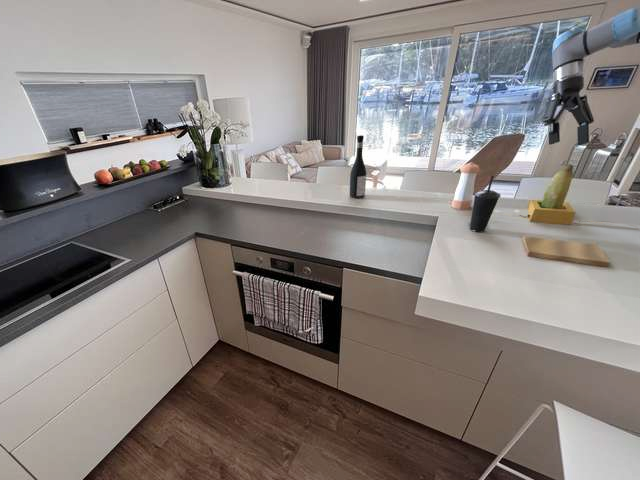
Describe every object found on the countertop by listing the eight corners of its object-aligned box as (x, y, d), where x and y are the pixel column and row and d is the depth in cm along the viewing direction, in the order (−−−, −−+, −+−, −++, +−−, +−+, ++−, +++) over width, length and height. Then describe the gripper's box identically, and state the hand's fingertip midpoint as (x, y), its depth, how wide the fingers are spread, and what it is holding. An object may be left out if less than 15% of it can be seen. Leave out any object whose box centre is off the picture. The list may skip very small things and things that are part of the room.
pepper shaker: (448, 204, 131) (457, 161, 122) (463, 203, 131) (474, 159, 122) (457, 210, 125) (468, 164, 116) (473, 208, 125) (486, 163, 116)
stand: (562, 214, 113) (567, 202, 110) (569, 225, 104) (575, 212, 102) (525, 211, 118) (530, 199, 116) (529, 221, 110) (534, 208, 107)
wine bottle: (367, 195, 152) (372, 134, 137) (359, 199, 148) (363, 137, 133) (354, 193, 158) (357, 134, 143) (346, 197, 153) (348, 136, 138)
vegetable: (560, 221, 108) (584, 166, 98) (539, 220, 110) (561, 166, 100) (552, 215, 113) (575, 162, 103) (533, 214, 115) (553, 163, 105)
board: (594, 248, 89) (596, 244, 88) (607, 267, 81) (610, 262, 80) (522, 240, 98) (523, 236, 97) (527, 256, 89) (528, 251, 88)
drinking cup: (493, 233, 103) (511, 178, 93) (469, 233, 105) (485, 179, 95) (484, 225, 110) (500, 172, 100) (462, 225, 111) (475, 173, 101)
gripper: (580, 89, 105) (581, 148, 106) (528, 85, 99) (529, 146, 100) (608, 77, 98) (608, 140, 99) (553, 71, 92) (554, 138, 93)
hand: (568, 143), depth 99 cm, fingers open, 13 cm apart
